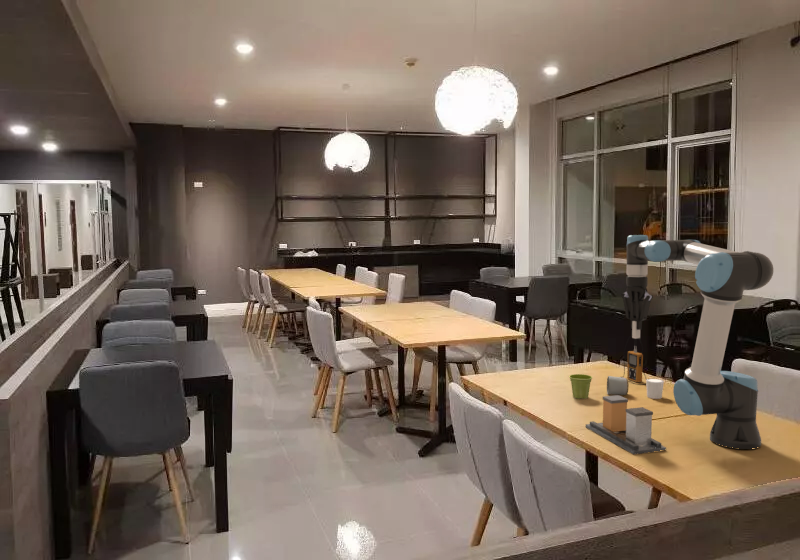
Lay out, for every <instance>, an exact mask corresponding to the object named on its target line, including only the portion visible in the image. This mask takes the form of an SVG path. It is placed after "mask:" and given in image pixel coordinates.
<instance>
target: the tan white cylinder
mask: <svg viewBox="0 0 800 560" xmlns="http://www.w3.org/2000/svg"><path fill="white" fill-rule="evenodd" d="M645 382H646V383H645V384H646V385H645V386H646V397H647V398H648V399H654V400H656V399H657V400H659V399H662V398H663V391H664V383H665V381H664V380H663V379H659V378H646V379H645Z"/></svg>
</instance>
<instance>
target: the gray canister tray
mask: <svg viewBox="0 0 800 560" xmlns="http://www.w3.org/2000/svg"><path fill="white" fill-rule="evenodd" d="M653 414H654V412H653V411H652V410H650V409H647V408H646V407H642V406H641V407H633V408H632V407H630V408H627V409H626V431H616V432H612V431H611V430H609V429H607V428H605V427H603V422H596V421H589V423H587V424H585V428H586V429H588V430H590V431H592V432H593V433H595V434H596V435H598V436H600V437H602V438H604V439H606V440H608V441H609V442H610V443H612V444H614V445H616V446H618V447H619V448H621V449H623V450H625V451H627V452H628V453H630V454H632V455H640V454H641V455H642V454H648V452H650V453H655V452H654V451H658V452H661V451H660V450H665V449H666V450H667V446H664V445H663V444H662V442H660V441H658V440H657V439H654V438H653V437H652V430H653V429H652V425H653V424H652V421H653V420H652V419H653Z"/></svg>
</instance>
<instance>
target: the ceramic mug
mask: <svg viewBox="0 0 800 560" xmlns="http://www.w3.org/2000/svg"><path fill="white" fill-rule="evenodd" d="M628 381H629V379H627V377H623V376H611V375H608V376H607V378H606V394H607V395H609V396H615V395H620V396H626V395H628V393H629V388H630V387H629V384H630V383H629V382H628Z"/></svg>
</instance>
